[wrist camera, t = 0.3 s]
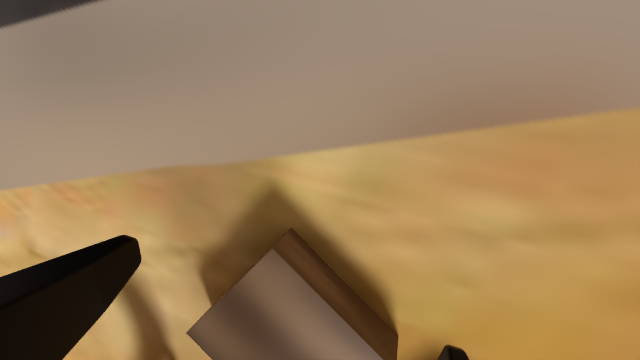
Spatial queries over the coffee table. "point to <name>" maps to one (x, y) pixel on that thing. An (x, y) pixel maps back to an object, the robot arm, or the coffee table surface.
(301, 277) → the walnut block
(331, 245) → the coffee table surface
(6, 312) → the robot arm
